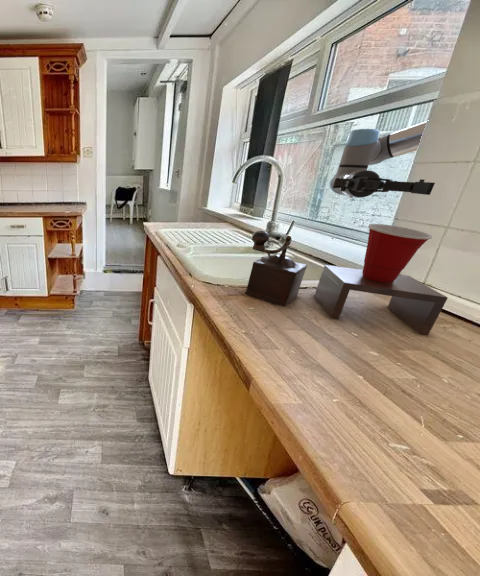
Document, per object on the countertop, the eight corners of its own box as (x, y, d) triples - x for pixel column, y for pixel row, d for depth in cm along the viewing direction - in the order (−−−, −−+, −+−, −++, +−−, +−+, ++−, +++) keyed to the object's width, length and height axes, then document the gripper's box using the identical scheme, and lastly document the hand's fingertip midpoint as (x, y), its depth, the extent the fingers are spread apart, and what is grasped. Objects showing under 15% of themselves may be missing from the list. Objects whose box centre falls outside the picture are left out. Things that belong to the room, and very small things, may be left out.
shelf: (394, 308, 79) (409, 275, 76) (428, 335, 66) (448, 297, 63) (314, 295, 85) (324, 264, 82) (330, 318, 72) (344, 282, 69)
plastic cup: (386, 288, 66) (410, 233, 62) (338, 272, 76) (356, 223, 71) (422, 286, 69) (447, 233, 64) (371, 270, 78) (391, 223, 74)
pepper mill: (255, 285, 90) (272, 224, 84) (297, 297, 83) (319, 231, 76) (233, 298, 80) (249, 230, 74) (279, 313, 73) (301, 239, 66)
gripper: (406, 200, 89) (454, 207, 71) (307, 193, 97) (327, 198, 78) (417, 172, 86) (470, 172, 68) (314, 168, 94) (337, 167, 76)
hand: (394, 186), depth 73 cm, fingers open, 13 cm apart
